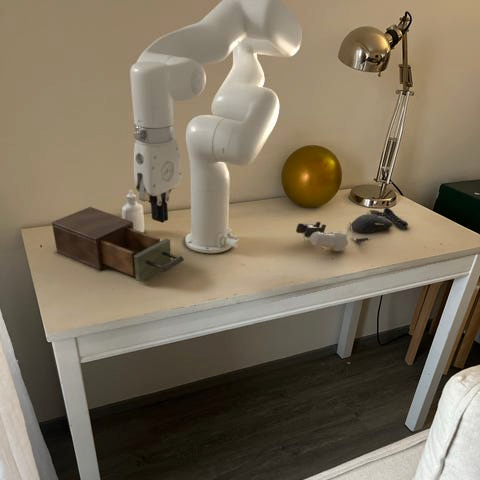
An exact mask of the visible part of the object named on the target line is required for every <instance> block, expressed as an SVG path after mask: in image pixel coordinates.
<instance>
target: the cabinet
mask: <svg viewBox="0 0 480 480" xmlns="http://www.w3.org/2000/svg"><path fill="white" fill-rule="evenodd" d="M51 225H52V226H51V227H52V231H53V237H54V242H55V248H56V253H57V254H60V255H62V256H63V257H64V256H65V257H67V258H70V259H71V260H73V261H76V262H79V263H81V264H83V265H86V266H88V267H91V268H93V269H96V270H97V271H102V270H104V269H106V268H107V267H108V266H107V265H105V264H103V263H101V255H100V247H99V241H100V240H102V239H104V238H106V237H108V236H110V235H112V234H114V233H116V232H119V231H121V230H123V229H125V228H127V227H129V228H132V229H133V222H132V221H129V220H126V219H124V218H122V216H118V215H115V214H112V213H110V212H107V211H103V210H101V209H99V208H95V207H92V206H89V207H86V208H83V209H80V210H78V211H76V212H73V213H71V214H69V215H65V216H63V217H61V218H59V219H56V220H54V221H52V222H51Z"/></svg>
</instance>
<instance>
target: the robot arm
mask: <svg viewBox="0 0 480 480" xmlns="http://www.w3.org/2000/svg"><path fill="white" fill-rule="evenodd" d="M302 40H303V29H302V25H301V22H300V20H299V18H298V17H297V15H295V14H294V13H293V12H292V11H291V10H290V9H289V7H288V6H287V5H286V4H284V2H283V1H281V0H221V1H220V2H219V3H218V4H217V5H216V6H215V7H214V8H213V9H212V10H211V11H210V12H208V13H207V14H206V15H205V16H204V17H203V18H202V19H201V20H200V21H198V22H196V23H195V22H194V23H192V24H190V25H186V26H184V27H182V28H179V29H177V30H174V31H171V32H169V33H166V34H164V35H162V36H160V37H158V38H157V39H156V40H154V41H153V42H152V43H151V44H149V46H147V47H146V48H145V49H144V50H143V52H142V53H141V54H140V55H139V57H138V59H137V60H136V62H135V63H134V64H132V65H131V67H130V70H129V76H130V89H131V90H130V91H131V99H132V100H131V102H132V112H133V113H132V114H133V123H134V125H133V126H134V134H133V138H134V139H135V142H134V145H133V146H134V147H133V148H134V149H133V180H134V186H135V190H136V191H137V192H138V200H139V201H142V202H148V203H149V204H150V210H151V219H152V220H153V221H156V222H159V223H164V222H167V221H168V220H169V210H168V209H169V208H168V202H169V201H170V195H171V192H172V190H173V189H175V188H176V187H179V185H180V184H181V183H182V179H183V178H182V176H183V175H182V164H181V155H180V149H179V148H180V147H179V143H178V140H177V137H176V136H175V125H174V103H175V102H189V101H193V100H195V99H197V98H199V96H200V95H201V94H202V93H203V91H204V90H205V88H206V84H207V76H206V75H207V74H206V71H205V69H204V67H203V66H207V65H212V64H216V63H220V62H223V61H224V60H226V59H227V58H228V56H229V55H230V54H231V53H232V60H233V61H232V67H231V69H230V71H229V72H228V74H227V76H226V77H225V79H224V80H223V82H222V84H221V85H220V87H219V89H218V90H217V92H216V94H215V95H214V97H213V100H212V103H211V107H210V108H211V114H212V115H211V114H201V115H197V116H195V117H193V118H192V119H191V120H190V121H189V122H188V123H187V126H186V129H185V144H186V149H187V154H188V159H189V166H190V167H189V168H190V169H189V170H190V232H189V233H187V234H186V236H185V239H184V240H185V245H186V246H187V247H188V248H189V249H190V250H192V251H195V252H198V253H201V254H219V253H223V252H226V251H228V250H230V249H231V248H234V249H237V248H238V247H239V244H240V240H241V239H240V236H237V235H233V233H232V232H233V229H232V227H229V215H230V214H229V213H230V211H229V210H230V185H231V177H230V172H229V168H228V166H227V164H228V165H232V166H237V167H247V166H250V165H252V164H253V163H254V162H255V160H256V159H257V157H258V156H259V154H260V152H261V151H262V149H263V148H264V146H265V144H266V142H267V140H268V139H269V137H270V134H271V133H272V132H273V129H274V128H275V126H276V123H277V121H278V117H279V111H280V101H279V97H278V95H277V94H276V92H275V91H274V90H273V89H271V88H269V87H265V86H264V84H265V73H264V70H263V68H262V65H261V63H260V61H259V60H258V56H257V55H262V56H263V55H265V56H272V57H279V58H290V57H291V58H292V57H293V56H294V55H295V54H296V53H298V51H299V50H300V47H301V44H302Z"/></svg>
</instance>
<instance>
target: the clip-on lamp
mask: <svg viewBox="0 0 480 480" xmlns="http://www.w3.org/2000/svg"><path fill="white" fill-rule="evenodd" d="M351 223H352V222H350V221H349V222H348V223H347V227H346V233H345V232H343V231H340V230H339V231H331V232H325V230H326V228H327V225H326V224H325V223H324V224H321V221H316V222H315V224H312V223H300V222H299V223H298V224H297V226H296V229H295V232H296V233H297V234H302V236H303V241H304V243H305V242H308V241H310V244H311V245H312V246H314V247H315V246H316V247H324V248H330V249H331V251H333V252H342V251H345V249H346V248H347V246H348V244H349V239H348V236H349V235H348V233H349V228H350V231H351V237H352V239H353V240H354V241H356V242H359V243H362V242H368V241H371V238H369V237H359V238H355V235H354V230H353V229H352V225H351ZM350 226H351V227H350ZM306 238H307V239H306Z"/></svg>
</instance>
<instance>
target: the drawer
mask: <svg viewBox="0 0 480 480" xmlns="http://www.w3.org/2000/svg"><path fill="white" fill-rule="evenodd" d="M99 247H100V255H101V263H103V264H105V265H107V267H110V268H113V269H115V270H117V271H120V272H122V273H125V274H126V275H130V276H132V277H135V281H136V282H139V283H141V282H143V281H145V280H146V279H148V278H150V277H151V276H152V275H154V274H156V273H158V272H159V271H161V272H162V273H167V272H168V271H169V270H171V269H173V268H175V267H176V266H177V265H179V264H181V263H183V262H184V260H185V258H184V257H183V256H182V255H179V256H177V255H175V254H172V253H171V250H172V249H171V239H169V238H164V239H162V240H161V238H159V237H157V236H154V235H151V234H148V233H145V232H140V231H137V230H135V229H132V228H129V227H127V228H125V229H123V230H121V231H119V232H116V233H114V234H112V235H110V236H108V237H106V238H104V239H102V240H100V241H99Z"/></svg>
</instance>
